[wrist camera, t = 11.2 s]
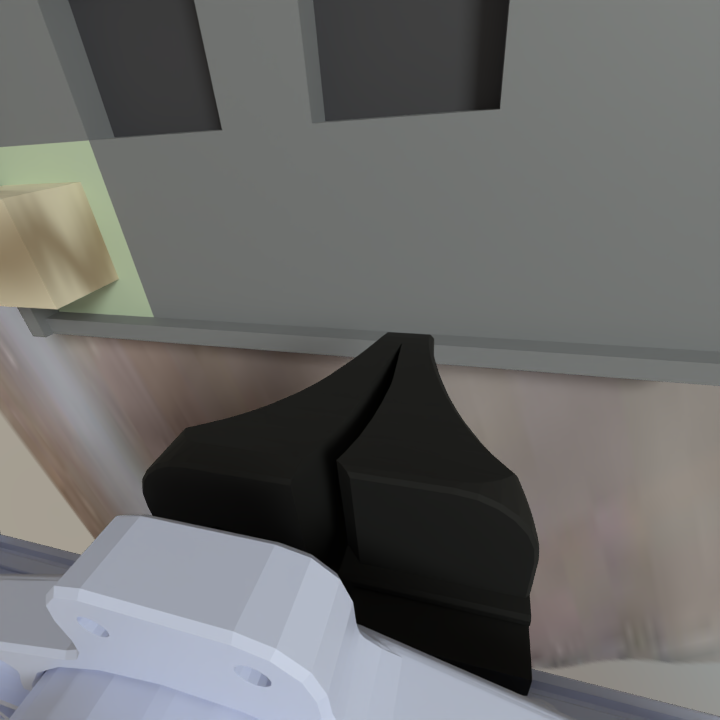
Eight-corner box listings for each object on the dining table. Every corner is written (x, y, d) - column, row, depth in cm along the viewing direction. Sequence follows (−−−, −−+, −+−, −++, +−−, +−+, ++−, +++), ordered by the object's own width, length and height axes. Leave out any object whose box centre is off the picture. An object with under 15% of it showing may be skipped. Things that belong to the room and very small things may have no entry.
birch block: (119, 278, 23) (57, 309, 20) (49, 276, 24) (-20, 304, 21) (80, 181, 20) (2, 198, 17) (5, 185, 22) (-82, 201, 18)
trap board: (709, 349, 19) (748, 395, 16) (80, 311, 28) (33, 336, 25) (1008, -349, 9) (1240, -548, 6) (-92, -55, 18) (-198, -82, 16)
